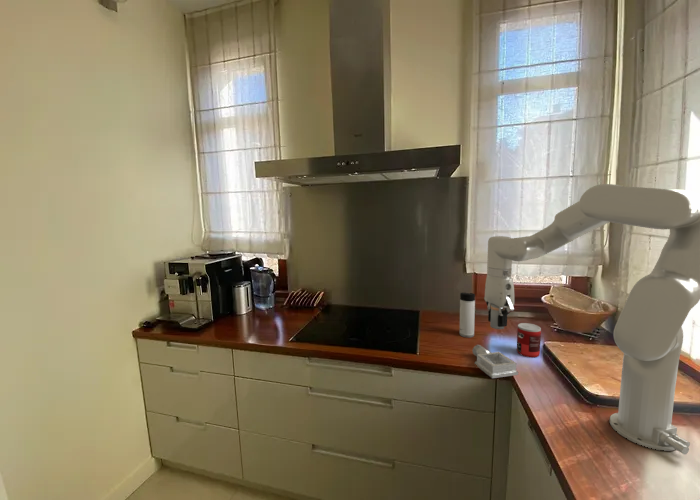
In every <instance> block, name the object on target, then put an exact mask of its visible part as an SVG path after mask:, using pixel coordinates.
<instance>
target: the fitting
mask: <svg viewBox="0 0 700 500" xmlns="http://www.w3.org/2000/svg"><path fill="white" fill-rule="evenodd" d="M472 354H473V355H474V356H475V357H476V361H475V362H474V365H475V364H476V365H477V368H479V369H480V370H481V371H482V372H484V373H485V374H486V375H487V376H489V377H490V379H497V378H498V379H499V378H503V377H504V378H505V377H514V376H518V375H519V371H518V370H517V362H516V361H513V360H512V359H511V358H509V357H508V356H506V355H505V354H503V353H501V352H500V351H495V352H493V351H492V352H491V351H490V350H488V349H486V348H485V347H484V346H482V345H481V344H476V345H474V346H473V347H472ZM476 365H475V366H476Z"/></svg>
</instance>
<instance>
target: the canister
mask: <svg viewBox="0 0 700 500" xmlns="http://www.w3.org/2000/svg"><path fill="white" fill-rule="evenodd" d="M504 306H505V305H504ZM502 310H505V308H502ZM498 315H499V307H498V306H496V305H494V304H491V322H490V328H492V329H495V330H504V329H505V326H504V327H498Z"/></svg>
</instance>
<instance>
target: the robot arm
mask: <svg viewBox="0 0 700 500" xmlns="http://www.w3.org/2000/svg"><path fill="white" fill-rule="evenodd" d="M609 223H614V224H620V225H627V226H634V227H639V228H646V229H647V228H648V229H652V230H653V229H654V230H669V234H668V239H667V240H666V242H665V244H664V245H663V246H662V249H661V251H660V254H659V257H658V258H657V259H658V260H656V261H657V262H656V263H655V265H654V268H653V269H652V271H651V272H649V274H647V275H645V276H643V277H641V278H640V279H639V280H638V281H637V282H636V283H635V284H634V285H633V286H632V288H631V290H630V292H629V294H628V296H627V299H626V300H625V303H624V305H623V307H622V310H621V311H620V314H619V316H618V319H617V321H616V323H615V324H614V325H615V326H614V329H613V340H614V343H615V345H616V346H617V348H618V350H620V351H621V353H623V357H622V368H621V376H620V377H621V379H620V388H619V402H618V412H615V413H612V414H611V415H610V416H609V423H610V426H611V427H612V428H613V430H614V431H615V432H616V431H617V432H616V433H618V435H620V436H622V437H623V438H625V439H626V438H627V440H628V441H630V442H632V443H634V444H636V443H637V444H636V445H639V446H641V445H642V447H644V446H645V447H644V448H647V447H648V448H647V449H651V448H652V450H655V449H656V450H655V451H660V450H664V451H665V452H671V451H675V449H676V451H678V452H679V453H681V454H682V455H687V454H688V453H689V452H690V449H689V447H690V445H691V442H689V440H686V439H685V438H683V437H680V436H679V435H678V434H677V430H678V427H677V426H675V425H673V424H672V422H673V413H674V412H673V410H674V404H675V403H674V401H675V392H676V386H677V385H676V383H677V381H678V379H677V378H678V370H679V363H680V356H681V353H682V348H683V343H684V331H683V325H684V322H685V320H686V319H687V317H688V315H689V313H690V312H691V310H692V309H693V308H694V307H695V306H696V305H697V304H698V303H699V301H700V194H699V193H696V192H694V191H691V190H686V189H673V188H672V189H671V188H654V187H640V186H629V185H628V186H627V185H626V186H625V185H621V184H613V183H601V184H597V185H593V186H592V187H589V188H588V189H587V190H585V191H584V192H583V193H582V195H581V196H580V199H579V201H577V202H575V203H573V204H571V205H570V206H567V208H565V209H563V210H561V211H560V212H558V213H557V214H555V216H554V220H553V221H552V222H551V223H550V224H549V225H548V226H546V227H545V228H543V229H541V230H539V231H537V232H535V233H533V234H532V235H527V236H521V237H514V238H513V237H509V236H503V235H502V236H501V235H497V236H496V235H495V236H491V237H489V238H488V241H487V262H486V263H487V265H486V266H487V267H486V278H485V286H484V297H483V299H484V301H485V303H486V306H487V308H486V309H487V311H488V314H487V315H488V316H487V320H488V322H490V323H491V304H494V305H496V306H498V307H499V315H498V327H504V328H505V327H508V316H509V315H510V314H511V313H512V312H513V311H514V310H515V308H514V306H515V285H514V280H513V278H512V272H513V271H512V269H513V268H512V267H513V266H512V265H513V261H514V262H525V261H528V260H529V261H530V260H534V259H538V258H541V257H542V256H545V255H548V254H549V253H551V252H553V251H555V250H558V249H560V248H562V247H564V246H565V245H567V244H569V243H571V242H573V241H574V240H576V239H578V238H579V237H581V236H584V235H586V234H588V233H590V232H592V231H594V230H596V229H598V228H601V227H603V226H605V225H607V224H609ZM504 305H505V306H504ZM502 308H505V310H502ZM664 451H663V452H664Z"/></svg>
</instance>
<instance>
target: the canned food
mask: <svg viewBox="0 0 700 500" xmlns="http://www.w3.org/2000/svg"><path fill="white" fill-rule="evenodd" d="M516 328H517V330H516V335H517V336H516V351H517V353H518V354H519V355H521V356H523V357H526V358H538V357H540V354H541V341H542V339H541V337H542V328H541V327H540V326H539V325H537V324H534V323H527V322H521V323H517V327H516Z"/></svg>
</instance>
